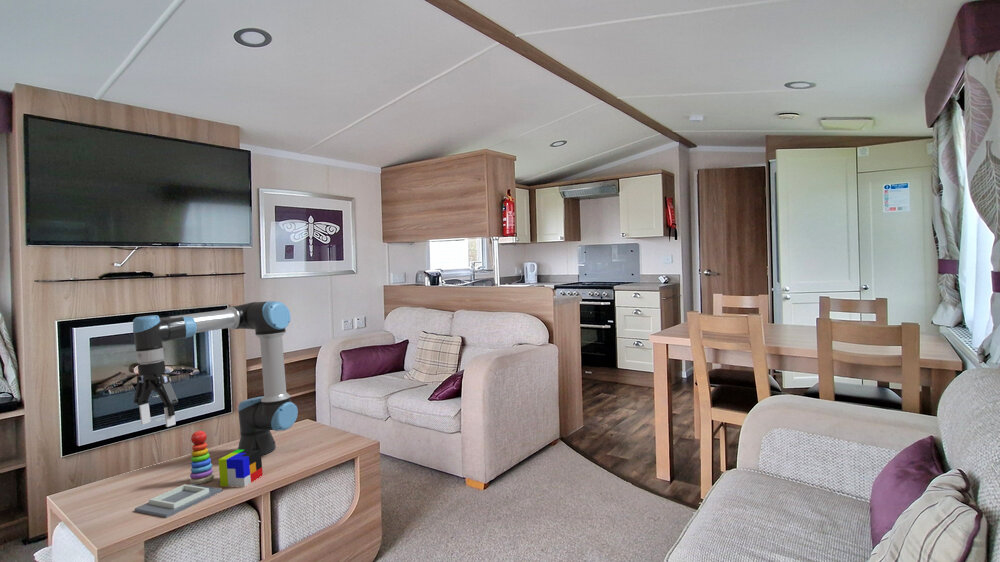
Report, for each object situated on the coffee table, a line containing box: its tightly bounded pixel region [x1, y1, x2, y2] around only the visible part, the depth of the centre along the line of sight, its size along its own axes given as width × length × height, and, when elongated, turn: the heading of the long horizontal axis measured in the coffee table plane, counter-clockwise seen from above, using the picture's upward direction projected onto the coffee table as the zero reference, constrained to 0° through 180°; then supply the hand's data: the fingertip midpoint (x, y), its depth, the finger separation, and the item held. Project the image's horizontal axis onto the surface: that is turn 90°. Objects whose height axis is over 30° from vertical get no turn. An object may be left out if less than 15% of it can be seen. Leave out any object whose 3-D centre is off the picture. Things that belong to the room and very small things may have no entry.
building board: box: [134, 483, 223, 519], centre depth 178 cm, size 20×16×2 cm
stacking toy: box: [189, 430, 215, 485], centre depth 195 cm, size 8×8×19 cm
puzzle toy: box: [217, 449, 264, 488], centre depth 193 cm, size 10×10×10 cm
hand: (158, 424), depth 175 cm, fingers open, 13 cm apart
